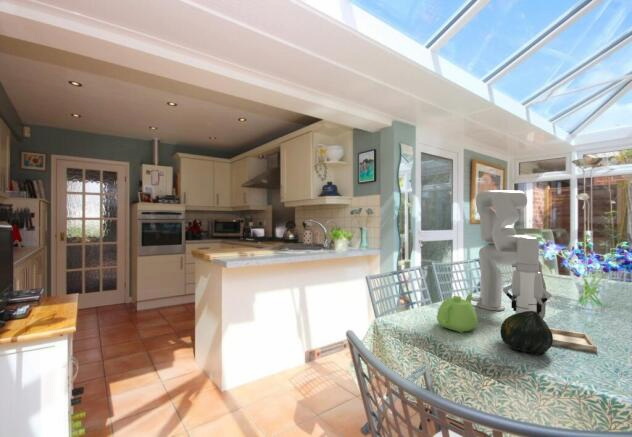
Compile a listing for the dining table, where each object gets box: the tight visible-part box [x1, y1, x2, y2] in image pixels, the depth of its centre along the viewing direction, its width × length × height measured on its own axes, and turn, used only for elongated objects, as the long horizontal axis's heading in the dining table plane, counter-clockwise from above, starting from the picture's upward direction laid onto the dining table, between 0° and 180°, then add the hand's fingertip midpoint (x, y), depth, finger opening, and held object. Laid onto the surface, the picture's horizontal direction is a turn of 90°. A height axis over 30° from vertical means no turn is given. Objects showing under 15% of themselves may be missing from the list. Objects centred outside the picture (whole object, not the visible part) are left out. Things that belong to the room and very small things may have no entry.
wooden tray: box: [549, 327, 598, 354], centre depth 116 cm, size 14×14×2 cm
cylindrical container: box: [514, 272, 537, 314], centre depth 124 cm, size 7×7×25 cm
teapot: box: [436, 293, 479, 333], centre depth 130 cm, size 22×15×13 cm
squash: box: [499, 311, 553, 355], centre depth 108 cm, size 14×15×15 cm
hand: (526, 311), depth 124 cm, fingers closed on cylindrical container, 7 cm apart
